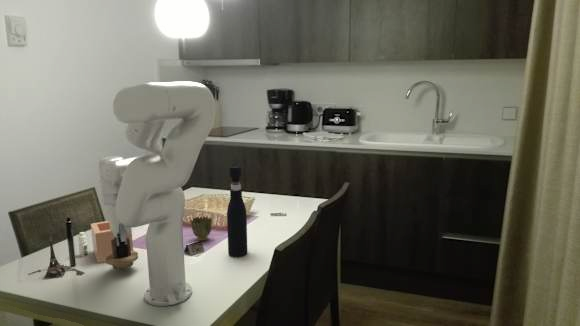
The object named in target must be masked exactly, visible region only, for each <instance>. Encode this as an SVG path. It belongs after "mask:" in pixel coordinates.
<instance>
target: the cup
mask: <svg viewBox="0 0 580 326" xmlns="http://www.w3.org/2000/svg"><path fill="white" fill-rule="evenodd" d="M190 223H191V228H192V233H193V235H194V236H195V237H196V238H197V241H199V242H206V241H208V236H209V235H210V233H211V232H212V226H213V225H212V224H213V218H212V217H210V216H209V217H208V216H203V217H202V216H200V217H199V216H196V217H193V218H192V219H191V220H190Z"/></svg>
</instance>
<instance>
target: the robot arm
mask: <svg viewBox="0 0 580 326" xmlns="http://www.w3.org/2000/svg"><path fill="white" fill-rule="evenodd" d="M112 111H113V114H114V116H115V118H116V119H117V120H118V121H119V122H120V123H122V124H127V125H126V129H125V134H124V135H125V138H126V139H127V141H128V142H129V143H130V144H131V145H132V146H134V147H136V148H138V149H141V150H144V151H145V152H144V153H143V155H139V156H138V155H137V156H132V157H126V158H125V157H123V156H120V155H112V156H111V155H110V156H103V157H102V158H100V159H99V161H98V172H99V182H100V190H101V191H100V192H101V199H102V206H106V207H107V218H108V221H109V226H110V230H111V232H112V234H113V235H114V239H116V243H117V246H116V253H117V258H118V259H119V258H124V257H128V247H127V240H126V233H127V234H128V235H131V234H132V235H133V233H132V232H133V231H132V232H131V229H132V228H133V229H134V228H138V227H142V226H145V225H148V227H147V230H146V235H145V242H146V243H145V245H146V256H147V257H146V258H147V268H148V269H147V270H148V282H149V287H148V288H147V289H145V291H144V293H143V297H144V301H145V302H146V303H148V304H149V305H152V306H156V307H158V306H160V307H165V306H166V307H167V306H172V305H177V304H179V303H182V302H184V301H186V300H187V299H188V298H190V296H191V295H192V293H193V288H192V286H191V284H190V283H188V282H187V281H186V268H185V267H186V266H185V249H184V230H183V229H184V228H183V226H184V224H183V222H184V212H185V206H186V205H185V204H186V196H185V192H184V191H183V188H182V187H184V186H185V185H186V184H187V182H188V181H189V180H190V177H191V175H192V173H193V171H194V168H195V165H196V163H197V160H198V157H199V154H200V151H201V150H202V147H203V146H204V143H205V141H206V140H207V138H208V136H209V135H210V132H211V131H212V128H213V126H214V123H215V119H216V103H215V97H214V95H213V93H212V91H211V90H210V88H208V86H206V85H205V84H203V83H199V82H196V81H195V82H194V81H166V82H165V81H163V82H160V81H158V82H146V83H145V82H144V83H141V84H140V83H139V84H136V85H131V86H127V87H123V88H121V89H120V90H119V91H117V93H116V94H115V97H114V99H113V101H112ZM177 119H181V120H179V122H178V123H177V124H176V125H174V127H173V128H172V129H171V130H170V132H169V133H168V134H167V136H166V138H165V140H164V143H163V146H162V144H161V142H160V140H159V138H160V137H161V134H162V133H163V130H164V128H165V126H166V124H167V121H168V120H177ZM118 238H120V239H118Z"/></svg>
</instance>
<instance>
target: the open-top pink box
mask: <svg viewBox="0 0 580 326" xmlns="http://www.w3.org/2000/svg"><path fill="white" fill-rule="evenodd" d="M90 229H91V241H92V249H93V253H94V256H95V259H96V262H97V263H98V264H101V263H105V262H106V257H107V256H109V255H110V254H112V245H111V240H113V239H114V235H113V234H112V232H111V230H110V226H109V220H105V221H100V222H98V221H97V222H93V223H91V224H90ZM132 230H133V229H132V228H131V232H133V231H132ZM126 237H129V240H130V249H131V251H134V245H133V244H134V243H133V233H132V234H131V235H128V234H127V233H126Z"/></svg>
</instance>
